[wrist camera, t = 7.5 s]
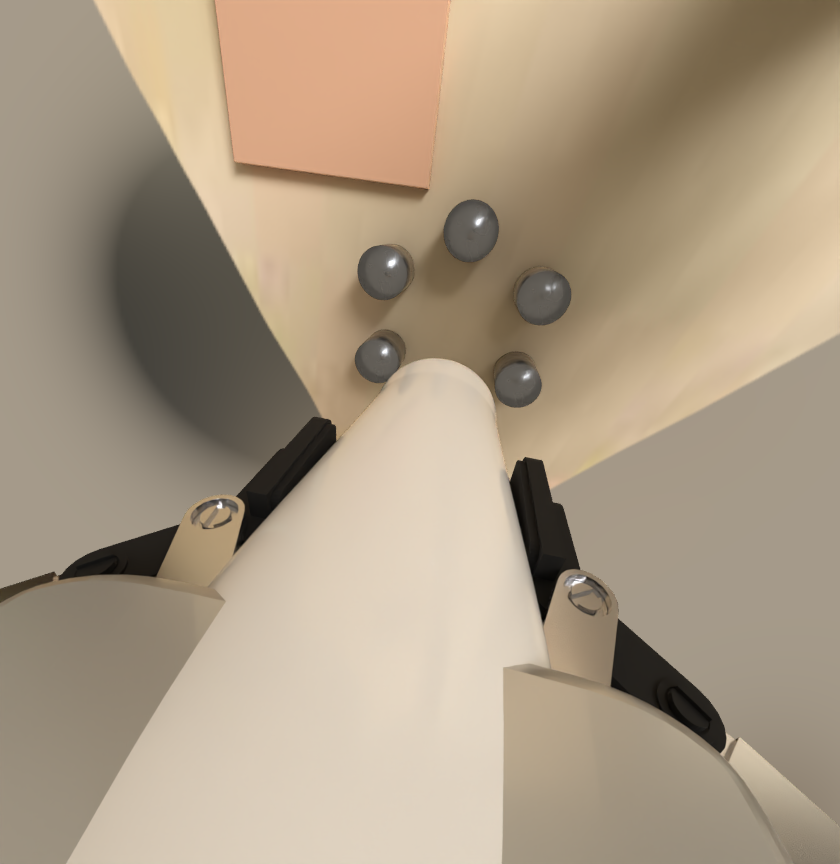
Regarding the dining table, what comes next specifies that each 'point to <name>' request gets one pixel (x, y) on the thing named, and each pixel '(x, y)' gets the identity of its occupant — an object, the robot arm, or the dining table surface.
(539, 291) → the spacer posts
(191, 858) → the drinking glass
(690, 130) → the dining table surface
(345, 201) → the dining table surface
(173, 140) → the dining table surface
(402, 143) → the terracotta tile
